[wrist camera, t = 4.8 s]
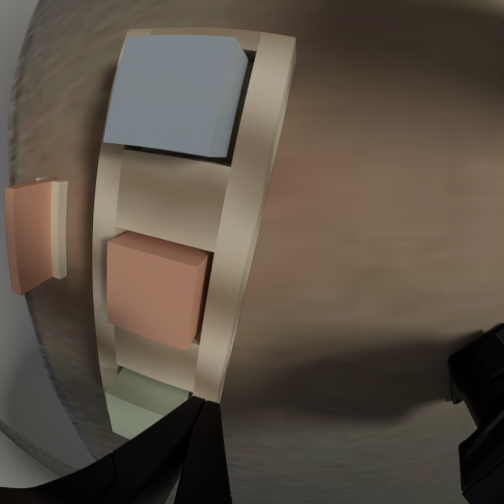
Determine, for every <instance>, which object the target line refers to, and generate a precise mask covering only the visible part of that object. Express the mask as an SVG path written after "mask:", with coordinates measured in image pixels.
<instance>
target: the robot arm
mask: <svg viewBox="0 0 504 504" xmlns="http://www.w3.org/2000/svg"><path fill="white" fill-rule="evenodd" d="M454 360H455V361H454ZM448 365H449V374H450V383H451V395H452V402H453V404H458V403H460V402H462V401H464V402H465V404H466V406H467V408H468V410H469V412H470V414H471V416H472V418H473V420H474V422H475V424H476V426H477V428H478V429H477V430H476V431H475V432H474V433H473V434H472V435H470V436H469V437H468V438H467V439H466V440H465V441H463V442H462V443H461V444H459V446H458V447H459V459H460V477H461V489H462V491H463V492H462V495H463V496H464V497H465V499H466V500H467V501H468V502H469V504H504V325H502V326H501V327H499V328H498V329H496V330H494V331H493V332H491V333H490V334H488V335H487V336H485V337H483V338H482V339H480V340H478V341H477V342H475V343H473V344H472V345H470V346H468V347H467V348H465V349H463V350H461V351H459V352H458V353H456V354H454V355H452V356H451V357H450V358H449V360H448ZM180 474H181V476H180ZM179 476H180V480H179V485H178V489H177V493H176V497H175V501H174V504H232V497H231V496H230V495H231V491H230V484H229V477H228V470H227V462H226V454H225V446H224V438H223V429H222V420H221V411H220V404H219V403H217V402H214V401H211V400H207V401H206V400H205V399H204V398H201V397H198V396H191V397H190V398H189V399H187V400H186V401H185V402H183V403H182V404H180V405H179V406H178V407H176V408H175V409H174V410H172V411H171V412H170V413H168V414H167V415H165V416H164V417H163V418H161V419H160V420H158V421H157V422H155V423H154V424H153V425H151V426H150V427H148V428H147V429H145V430H144V431H143V432H141V433H140V434H138V435H137V436H135V437H134V438H132V439H131V440H129V441H128V442H126V443H125V444H123V445H122V446H120V447H119V448H117V449H115V450H114V451H113V452H112V453H109V454H107V455H106V456H104V457H103V458H101V459H99V460H98V461H96V462H94V463H92V464H91V465H89V466H87V467H85V468H83V469H80V470H78V471H76V472H74V473H71V474H69V475H66V476H64V477H61V478H59V479H56V480H53V481H51V482H48V483H45V484H42V485H39V486H36V487H31V488H8V487H0V504H164V503H165V502H166V500H167V498H168V496H169V495H170V493H171V491H172V489H173V487H174V485H175V484H176V482H177V480H178V478H179Z"/></svg>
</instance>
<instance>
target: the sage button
mask: <svg viewBox="0 0 504 504" xmlns="http://www.w3.org/2000/svg"><path fill="white" fill-rule="evenodd" d="M105 395H106V401H107V406H108V411H109V416H110V421H111V425H112V430H113V432H115V433H117V434H119V435H121V436H123V437H126V438H128V439H130V440H131V439H132V438H134V437H135V436H137V435H138V434H140V433H141V432H143V431H144V430H145V429H147V428H148V427H150V426H151V425H153V424H154V423H155V422H157V421H158V420H160V419H161V418H163V417H164V416H165V415H167V414H168V413H170V412H171V411H172V410H174V409H175V408H176V407H178V406H179V405H180V404H182V403H183V402H185V401H186V400H187V399H188V396H189V391H187V390H184V389H181V388H178V387H175V386H172V385H169V384H166V383H164V382H161V381H158V380H155V379H153V378H150V377H147V376H145V375H142V374H140V373H137V372H135V371H132V370H130V369H127V368H125V367H124V368H123V369H122V370H121V371H120V373H119V374H118V375H117V377H116V378H115V379H114V381H113V382H112V383H111V384H110V386H109V387H108V388H107V390H106V391H105Z"/></svg>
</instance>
